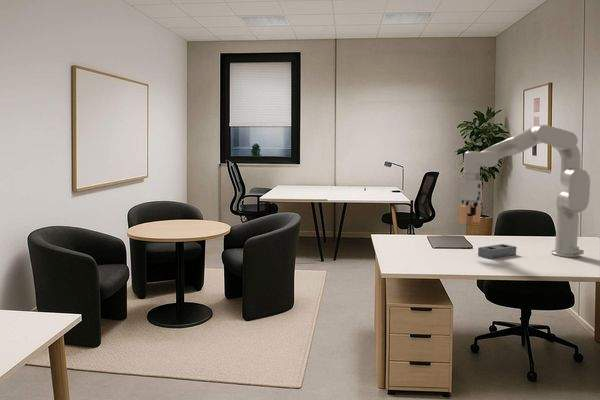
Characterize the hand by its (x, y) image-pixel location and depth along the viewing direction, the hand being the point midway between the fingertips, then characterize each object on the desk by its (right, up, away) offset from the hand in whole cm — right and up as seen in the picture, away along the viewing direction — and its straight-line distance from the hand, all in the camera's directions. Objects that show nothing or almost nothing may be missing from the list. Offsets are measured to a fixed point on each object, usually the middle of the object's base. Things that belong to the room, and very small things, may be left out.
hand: (469, 214), depth 274 cm
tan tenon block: (0, -4, 0) cm, 4 cm away
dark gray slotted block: (+12, -20, -3) cm, 23 cm away
